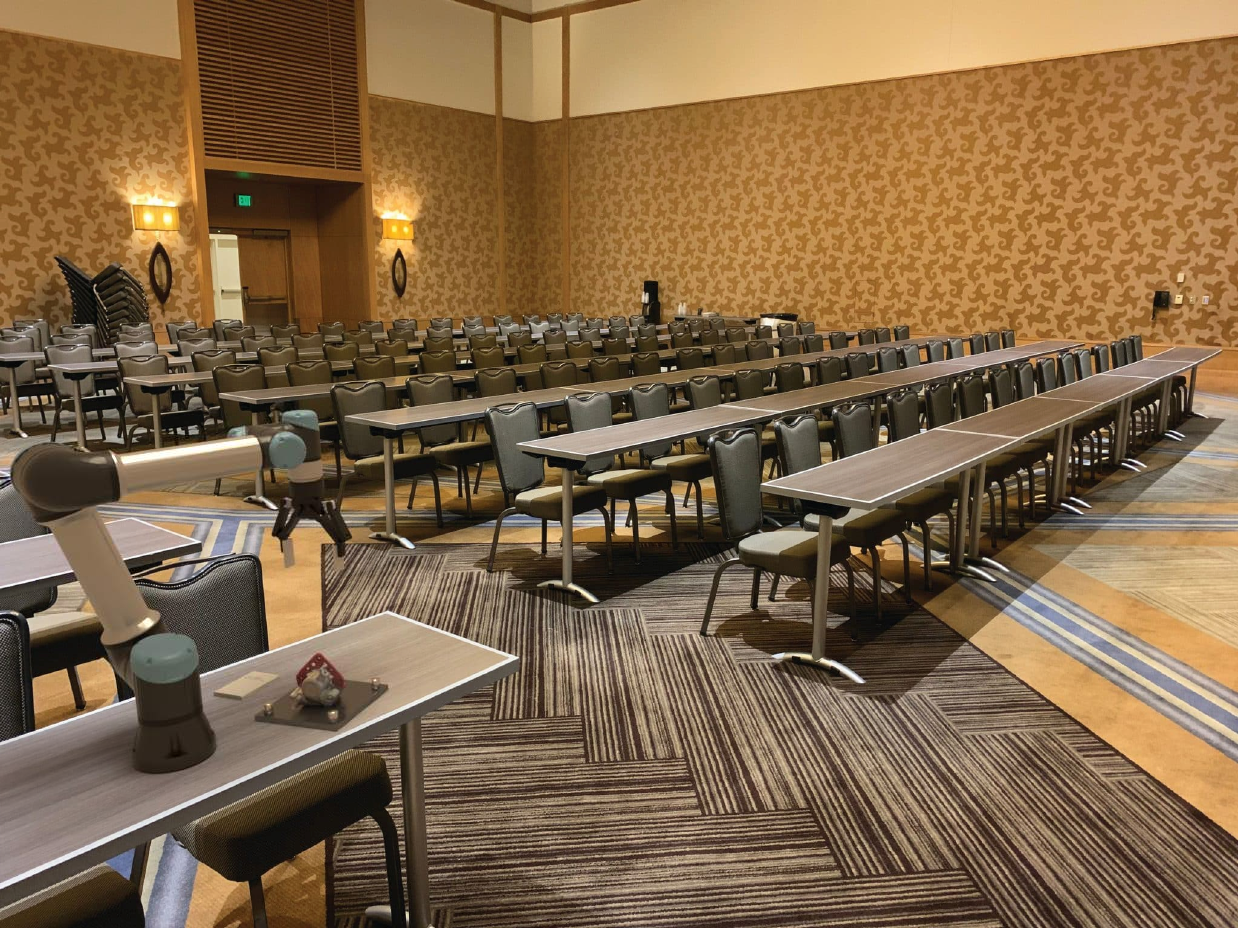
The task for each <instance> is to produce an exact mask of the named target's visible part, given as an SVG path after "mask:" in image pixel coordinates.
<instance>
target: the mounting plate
mask: <svg viewBox="0 0 1238 928" xmlns="http://www.w3.org/2000/svg"><path fill="white" fill-rule="evenodd" d="M312 672H314V671H312ZM312 672H310V673H309V675H310V674H311V673H312ZM332 678H333V677H329V681H330V682H332ZM344 683H346V686H345V688H344V689H343V691H342V693H341V694H340V696H339V697H338V699H337V701H336V703H335V704H333V705H330V706H326V705H301V704H300V705H298V706H297V707H296V708H295V709H291V707H292V705H293V704H294V703H295V702H296V700H293V699H290V698H289V696H290V694H291V693H292V692H293V691H294V690H295V689H296V688H297V686H296V687H294V688H293V689H292V690H290V691H288V692H287V693H286V694H283V696H281V697H280V698H278V699H277V700H275V701H265V702H263V703H262V708H263V709H262V710H260V711H259V712H257V713H256V714H254V721H257V722H264V723H271V724H277V725H278V724H280V725H286V726H295V727H302V728H308V729H317V730H325V731H333V732H338V731H339V730H340V729H341V728H343V727H344V726H345V725H346V724H348V723H349V722H350V721H351V720H352V719H354V718H355V717H356V716H358V714H360V713H361V712H362V711H363V710H365V709H366V708H368V707H369V706H370V705H371V704H372V703H374V702H375V701H376V700H378V698H380V697H381V696H382V695H383V694H385V693H386V692H387V691H389V684H387V683H386V684H385V683H381V680H380V677H377V676H376V677H375V676H374V677H372V678H371V679H370V681H369V682H368V681H359V680H349V679H344Z"/></svg>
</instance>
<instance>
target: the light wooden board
mask: <svg viewBox="0 0 1238 928" xmlns="http://www.w3.org/2000/svg"><path fill="white" fill-rule="evenodd" d="M278 679H279V680H280V675H279V674H274V673H273V674H272V673H267V672H261V671H255V670H253V671H251V672H248V673H247V674H245V675H243V676H241V677H240V678H238V679H236V680H233V681H232V682H230V683H228V684H226V685H224V686H223V687H220V688H219V689H217V690H214V691H213V697H218V698H224V697H226V698H225V699H231V700H237V701H244V700H246V699H247V698H250V697H251V696H253V695H255V694H256V693H258V692H260V691H262V690H263V689H265V688H267V687H268V686H270V685H272V684H273V683H275V682H277V681H278ZM274 681H275V682H274ZM271 683H272V684H271ZM269 684H270V685H269ZM266 686H267V687H266ZM264 687H265V688H264ZM262 688H263V689H262Z"/></svg>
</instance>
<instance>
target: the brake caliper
mask: <svg viewBox="0 0 1238 928" xmlns="http://www.w3.org/2000/svg"><path fill="white" fill-rule="evenodd" d="M312 664H315V665H312ZM326 665H327V666H326ZM312 671H314V672H312ZM310 672H312V673H311V674H310ZM308 674H309V675H308ZM330 676H332V677H331V678H332V682H330V681H329V678H330ZM295 679H296V683H297V686H296V687H297V688H296V687H295V688H296V689H295V690H294V691H293V692H292V693H291V694H290V696H289V698H290V699H293V700H296V702H295V703H294V704H293V705H292V707H291V709H295V708H296V707H297V706H298V705H300V704H301V705H326V706H330V705H333V704H335V703H336V701H337V699H338V697H339V696H340V694H341V693H342V691H343V689H344V688H345V686H346V683H344V680H345V677H344V676H343V675H342V674H341V672H340V671H338V669H337V668H336V666H334V665H333V663H331V662H330V660H328V659H327V658H326V657H325V656H324V654H323V653H321V652H316V653H315V654H314V655H313V656H312V657H311V658H310V659H309V660H308V661H307V662H306V663H304V665H303V666H302V667H301V668H300V670H299V671H298V673H297V674H296V675H295Z"/></svg>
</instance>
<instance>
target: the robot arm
mask: <svg viewBox="0 0 1238 928" xmlns="http://www.w3.org/2000/svg"><path fill="white" fill-rule="evenodd" d="M317 415H318V414H317V413H316V412H315V411H313V410H310V409H296V410H290V411H285V412H283V413H282V417H281V421H278V422H274V423H263V424H257V425H254V424H253V425H243V426H239V427H234V428H231V429H230V430H229V431H228V432H227V436H226V438H222V439H216V440H208V441H201V442H195V443H188V444H182V445H173V446H168V447H167V446H166V447H160V448H153V449H147V450H140V451H135V452H133V451H132V452H128V453H127V452H126V453H120V454H117V453H115V452H113V451H112V450H101V451H77V450H73V449H72V448H71V447H69V446H68V445H65V444H63V443H60V442H56V441H42V442H40V441H39V442H36V443H35V442H34V443H32V444H30V445H28V446H25V447H24V448H23V449H22V450H20V451H19V452H18V453H17V454H16V456H14V458H13V460H12V462H11V464H10V468H9V478H10V479H9V480H10V482H11V485H12V487H13V488H14V490H15V491H16V492H17V493H18V494H19V495H20V496H21V498H22V499H23V501H24V503H25V505H26V507H27V509H28V511H30V514H31V515H32V517H33V519H34V520H35V523H36V524H38V525H41V526H45V527H48V529H50V531H51V533H52V534H53V536H54V539H55V540H56V542H57V544H58V546H59V548H60V549H61V551H62V554H63V555H64V557H65V558H66V560H67V562H68V564H69V566H70V568H71V570H72V571H73V573H74V576H75V578H76V579H77V581H78V583H79V585H80V586H81V589H82V590H83V592H84V594H85V596H86V597H87V599H88V601H89V604H91V607H92V609H93V610H94V613H95V614H96V617H97V618H98V620H99V621H100V623H101V625H102V627H103V632H102V633H101V636H100V641H101V644H102V646H103V647H104V649H105V651H106V653H107V656H108V659H109V665H110V666H111V668H112V669H113V671H114V672H115V673H116V674H117V676H119V677H120V678H122V680H123V681H124V682H125V683H126V684H127V685H128V686H129V687H130V688H131V690H132V691H133V693H134V697H135V705H136V706H135V707H136V714H137V722H138V723H137V724H138V726H137V729H136V734H135V738H134V743H133V747H132V749H131V758H132V759H131V761H132V765H133V767H134V768H135V769H136V770H138V771H139V772H144V773H151V774H153V773H154V774H158V773H169V772H170V773H171V772H175V771H179V770H183V769H187V768H189V767H192V766H195V765H197V764H199V763H201V762H203V761H204V760H206V759H208V758H209V757H210V756H211V755H213V753H214V752H215V751H216V750H217V746H218V743H217V736H216V732H215V731H214V730H213V728H212V726H211V724H210V721H209V719H208V718H207V716H206V714H205V710H204V704H203V695H202V683H201V674H200V673H201V672H200V665H199V664H200V663H199V660H200V656H199V652H198V650H197V645H196V643H195V641H194V640H193V639H192V638H191V637H189V636H188V635H185V634H181V633H179V634H176V633H174V632H170V629H169V628H168V627H167V625H166V622H165V621H164V619H163V617H162V615H161V613H160V612H159V611H158V610H154V609H152V608H151V609H150V608H149V607H148V605H147V604H146V602H145V600H144V598H143V596H142V594H141V592H140V591H139V588H138V587H137V585H136V583H135V581H134V578H133V576H132V575H131V572H130V571H129V569H128V567H127V565H126V563H125V561H124V559H123V558H122V555H121V554H120V551H119V550H118V547H117V545H116V544H115V542H114V540H113V537H112V536H111V534H110V532H109V530H108V528H107V527H106V524H105V522H104V520H103V518H102V517H101V514H100V512H99V511H98V506H101V505H107V504H112V503H117V502H121V500H123V498H124V497H125V495H130V494H135V493H141V492H146V491H147V492H148V491H152V490H158V489H159V490H160V489H163V488H170V487H175V486H180V485H181V486H182V485H187V484H192V483H198V482H205V481H209V480H215V479H222V478H227V477H231V476H238V475H244V474H248V473H255V472H260V471H267V470H273V469H279V470H282V471H283V470H287V478H288V479H289V482H288V489H289V496H287V497H283V498H281V499H279V509H278V513H277V514H276V515H277V516H276V519H275V522H274V525H273V528H272V530H271V537H273V538H277V539H278V540H279V544H280V545H279V546H280V553H281V554H283V564H284V568H285V569H289V568H291V567H293V566H295V565H296V559H295V551H294V539H293V537H291V534H292V533H293V531H294V529H296V527H297V525H298V524H299V522H300V521H301V520H306V519H307V520H311V521H313V520H315V522H317V523H319V524H320V526H321V527H322V528H323V530H325V532H326V533H327V534H328V536H329V537H330V538H331V540H332V541H333V544H332V545H331V548H332V557H333V559H332V560H333V570H334V573H339V572H342V571H343V570H345V561H344V557H346V552H347V551H346V542H348V541H350V540H352V539H353V535H352V533H351V532H350V529H349V528H348V525H347V523H346V521H345V520H344V519H345V518H343V516H342V514H341V512H340V510H339V507H338V501H337V500H336V499H335V498H334V499H332V500H325V498H324V496H325V492H326V491H325V481H324V479H323V475H324V472H323V471H324V470H323V461H322V452H321V439H320V425H319V419H318V416H317ZM291 509H294V510H293V511H292V513H291V515H290V512H291ZM289 515H290V516H289ZM288 517H289V519H288Z"/></svg>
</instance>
